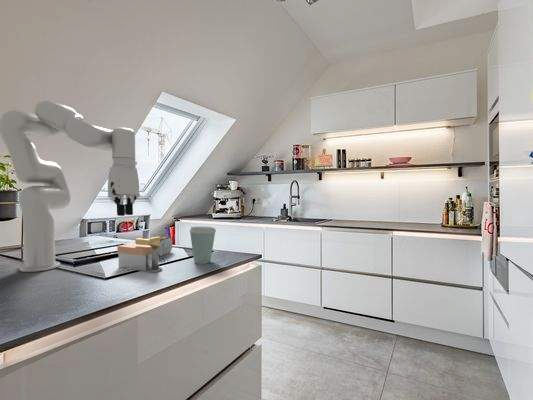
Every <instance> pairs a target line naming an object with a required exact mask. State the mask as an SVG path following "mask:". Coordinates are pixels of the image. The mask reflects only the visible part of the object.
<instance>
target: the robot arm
mask: <svg viewBox="0 0 533 400" xmlns="http://www.w3.org/2000/svg"><path fill="white" fill-rule="evenodd" d="M62 133H65V135H66V137H68V139H70V140H71V141H74V142H76V143H78V144H80V145H83V146H85V147H87V148H90V149H95V150H102V151H108V152H111V157H112V158H111V161H112V162H111V164H112V165H111V166H110V167H109V171H108V176H107V177H108V178H107V198H108V199H110V200H112V201H113V202H114V204H115V205H116V215H117V216H118V217H120V216H121V217H124V216H132V215H134V210H133V209H134V208H133V207H134V204H135V201H136V200H137V199H138V198H139V197H141V194H140V183H139V181H140V180H139V173H138V169H137V164H138V162H137V161H136V133H135V131H134V130H133V129H132V128H127V127H114V128H113V129H112V130H111V129H107V128H103V127H101V126H96V125H93V124H90V123H88V122H86V121H85V120H84V117H83V116H82V115H81V114H79V113H77V112H76V110H75V109H73V108H72V107H70V106H68V105H64V104H61V103H58V102H55V101H52V100H41V101H39V102H38V103H36V104H35V106H34V113H31V112H28V111H24V110H16V109H15V110H8V111H5V112H4V113H3V114H2V115H1V117H0V138H1V139H2V141H3V143H4V144H5V146H6V149H7V151H8V153H9V158H10V161H11V163H12V166H13V169H14V172H15V173H14V174H15V175H16V178H17V179H18V181H19V182H21V183H23V184H28V185H30V186H27V187H24V188H23V189H21V191H20V193H19V195H18V203H19V207H20V210H21V214H22V225H23V226H22V227H23V254H24V255H23V258H22V260H21V261H23V262H24V264H23V265H20V266H19V268H18V269H19V271H20V272H23V273H35V272H42V271H43V272H44V271H49V270H52V269H56V268H58V267H60V266H61V262H60V261H57V260H56V244H55V243H56V237H55V235H56V234H55V220H54V217H53V215H52V213H51V212H50V211H51V210H62V209H64V208H65V209H66V207H68V206H69V205H70V203H71V193H70V190H69V186H68V183H67V181H66V177H65V174H64V172H63V169H62V168H61V166H60V165H58V163H56V162H54V161H50V160H43V159H41V158H40V156H39V154H38V150H37V148H36V146H35V144H34V143H33V141H31V140H30V139H29V137H27V136H32V137H37V138H44V139H48V138H49V139H50V138H52V137H56V136H58V135H60V134H62ZM124 196H125V197H124ZM124 198H125V202H126V203H125V204H124Z"/></svg>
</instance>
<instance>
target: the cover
mask: <svg viewBox="0 0 533 400" xmlns="http://www.w3.org/2000/svg"><path fill="white" fill-rule="evenodd" d="M116 249H117V254H118V253H125V254H134V255H142V256H143V255H147V254H151V253H152V246H149V245H139V244H135V243H127V244H126V243H125V244H121V245H118V246H117V248H116Z"/></svg>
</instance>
